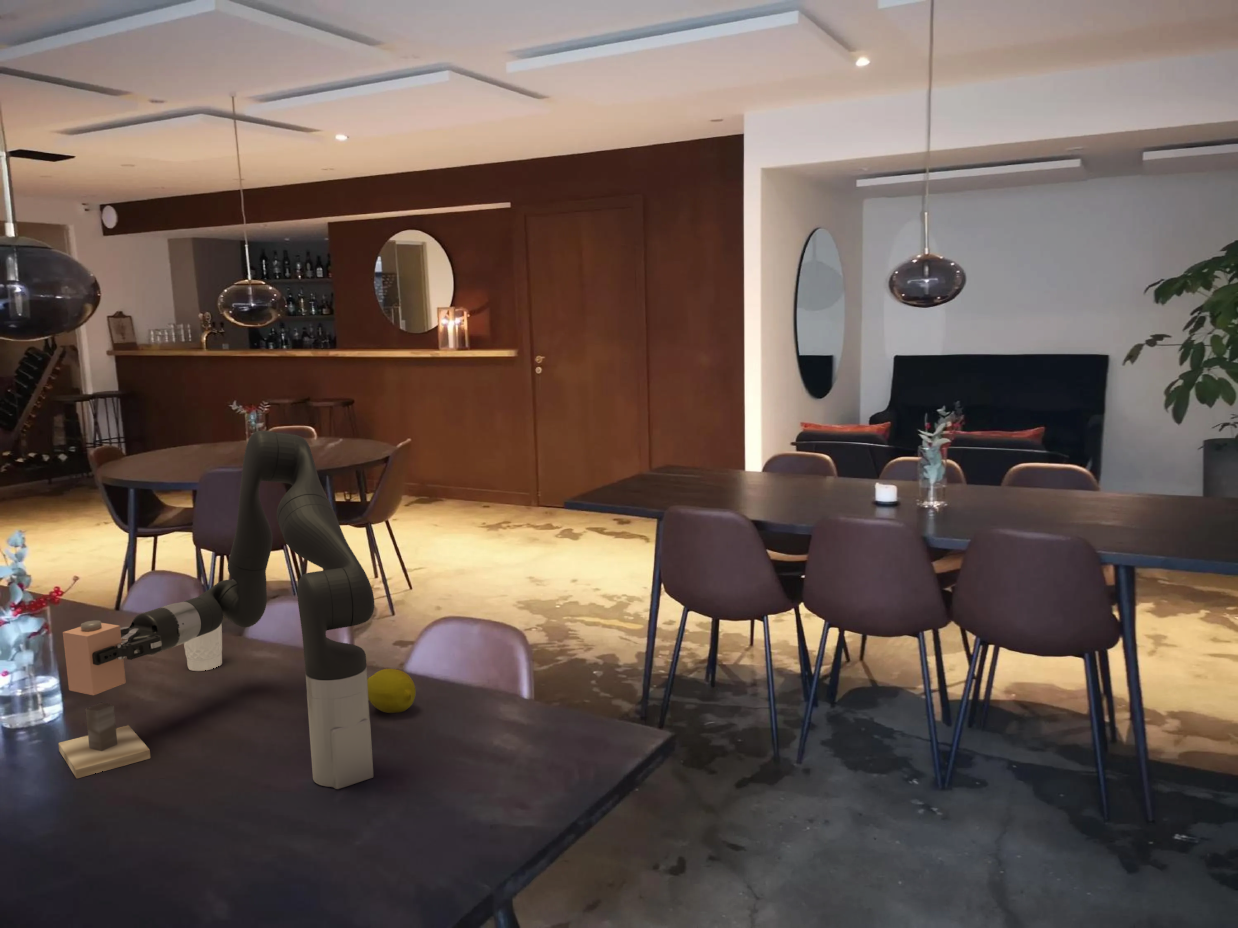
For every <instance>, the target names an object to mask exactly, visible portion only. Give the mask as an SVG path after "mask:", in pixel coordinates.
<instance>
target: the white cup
mask: <svg viewBox="0 0 1238 928" xmlns="http://www.w3.org/2000/svg"><path fill="white" fill-rule="evenodd" d="M222 625H223V624H222V623H221V625H220V626H219V627H218V628H217V629H215V630H213V631H212V632H209V633H206V634H204V635H201V636H198V637H195V638H193V639H191V640H189V641H187V642H185V643H183V646H184V647H183V648H184V654H185V657H186V663H187V664H186V665H187V668H188V670H189V671H192V672H204V671H205V670H206V671H209V670H213V668H214V669H216V667H217V668H218V666H219V667H220V666H221V665H222V664H223V654H222V652H223V632H222V631H223V628H222Z"/></svg>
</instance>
